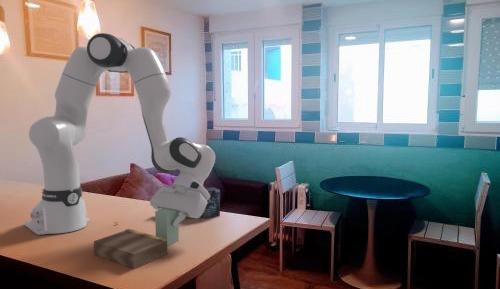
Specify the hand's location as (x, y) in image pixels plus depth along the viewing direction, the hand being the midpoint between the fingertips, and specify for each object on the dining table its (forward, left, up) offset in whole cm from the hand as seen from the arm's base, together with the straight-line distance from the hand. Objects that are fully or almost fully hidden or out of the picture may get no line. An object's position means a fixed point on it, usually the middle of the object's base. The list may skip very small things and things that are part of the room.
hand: (165, 224), depth 115 cm
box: (-7, +30, -6) cm, 31 cm away
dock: (-1, -12, -6) cm, 14 cm away
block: (0, +1, -6) cm, 6 cm away
